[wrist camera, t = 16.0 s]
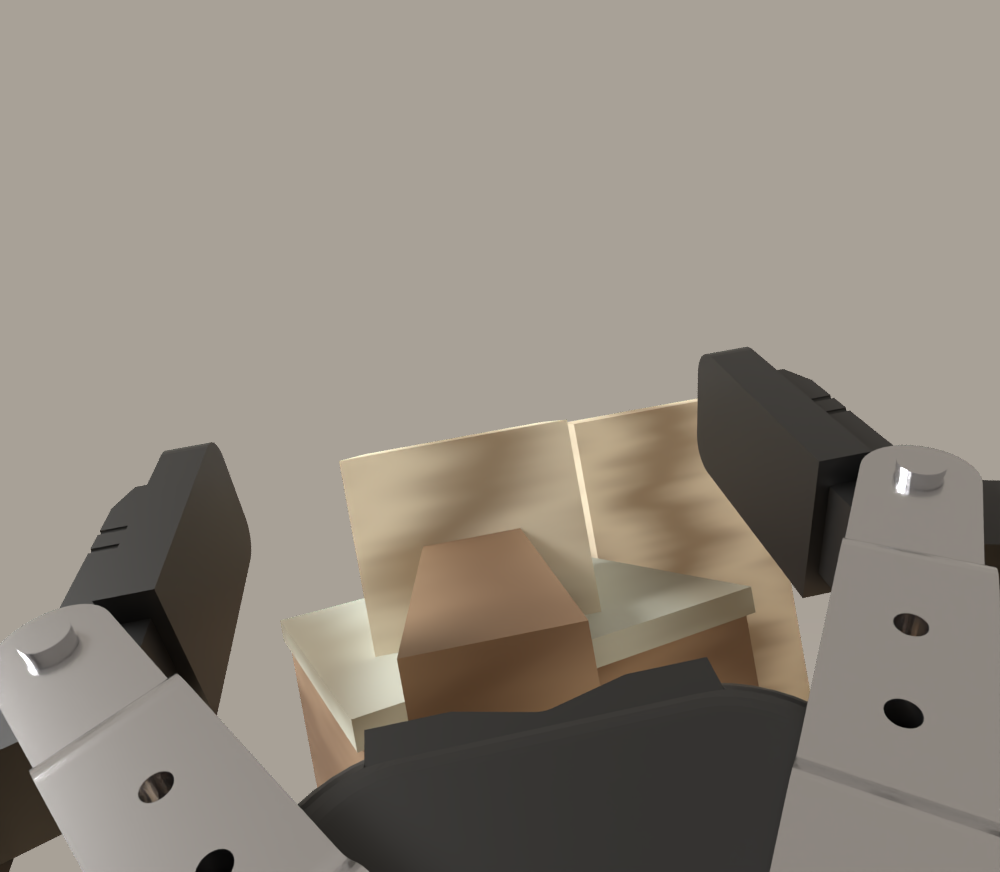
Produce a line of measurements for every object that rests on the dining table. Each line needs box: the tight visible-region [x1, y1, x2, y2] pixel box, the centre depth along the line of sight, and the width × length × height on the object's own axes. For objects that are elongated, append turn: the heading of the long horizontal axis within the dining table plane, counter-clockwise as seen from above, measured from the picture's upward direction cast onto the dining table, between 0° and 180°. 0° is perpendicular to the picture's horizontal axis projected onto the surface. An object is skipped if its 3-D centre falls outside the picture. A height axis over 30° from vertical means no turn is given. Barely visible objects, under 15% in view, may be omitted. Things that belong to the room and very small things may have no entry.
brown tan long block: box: [339, 420, 601, 721], centre depth 20 cm, size 7×18×6 cm, turn 4°
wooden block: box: [567, 399, 810, 701], centre depth 40 cm, size 10×10×34 cm
